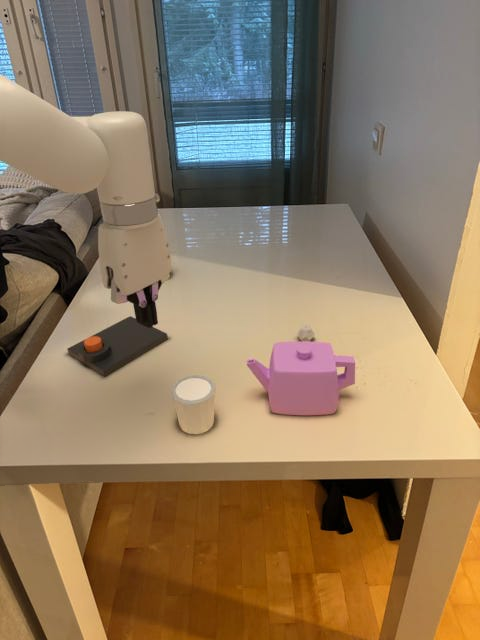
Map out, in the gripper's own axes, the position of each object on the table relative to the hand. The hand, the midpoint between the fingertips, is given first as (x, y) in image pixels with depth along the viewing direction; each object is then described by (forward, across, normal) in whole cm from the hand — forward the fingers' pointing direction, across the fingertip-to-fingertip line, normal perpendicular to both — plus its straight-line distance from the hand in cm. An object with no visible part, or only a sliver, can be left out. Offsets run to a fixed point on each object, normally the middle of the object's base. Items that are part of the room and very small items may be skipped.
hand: (147, 323), depth 74 cm
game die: (+15, -30, +11) cm, 36 cm away
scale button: (+13, -1, -19) cm, 22 cm away
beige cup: (+15, +1, +9) cm, 18 cm away
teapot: (+15, -15, +20) cm, 29 cm away
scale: (+15, -6, -18) cm, 25 cm away
